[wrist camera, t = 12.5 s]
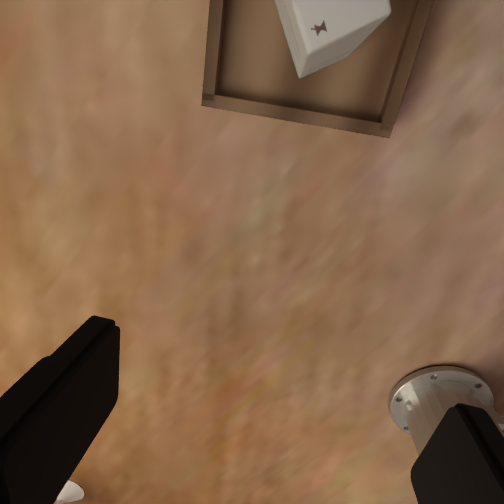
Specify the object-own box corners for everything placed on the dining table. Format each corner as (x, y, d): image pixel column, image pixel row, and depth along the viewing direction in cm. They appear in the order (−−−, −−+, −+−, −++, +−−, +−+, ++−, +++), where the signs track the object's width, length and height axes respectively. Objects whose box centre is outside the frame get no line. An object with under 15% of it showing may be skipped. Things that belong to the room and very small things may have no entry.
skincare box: (349, 56, 25) (395, 16, 15) (298, 80, 27) (305, 59, 16) (327, -32, 23) (361, -155, 13) (272, -3, 24) (260, -94, 14)
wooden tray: (437, -66, 24) (464, -98, 20) (376, 134, 30) (389, 138, 26) (231, -97, 25) (220, -134, 21) (212, 106, 31) (201, 105, 27)
